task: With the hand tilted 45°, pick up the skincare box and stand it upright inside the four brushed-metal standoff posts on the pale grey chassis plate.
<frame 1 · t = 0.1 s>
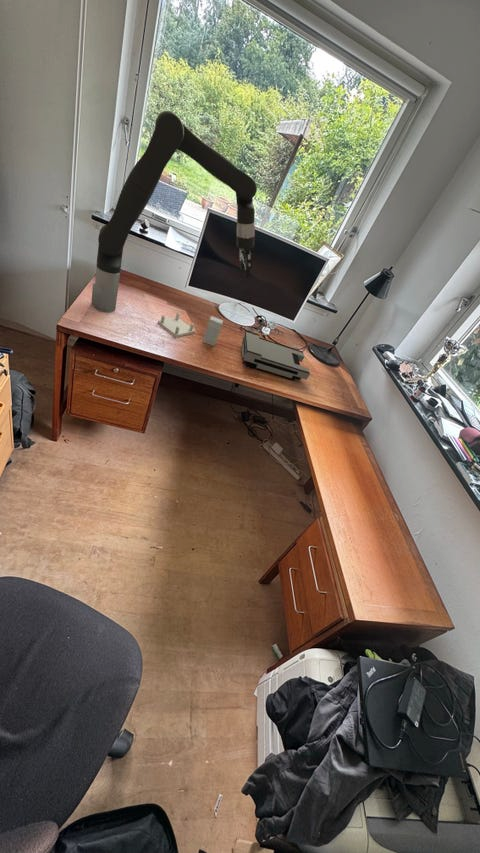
hand: (245, 273, 153), 31 cm above the table, tool tilted 20°, fingers open, 8 cm apart
grey slotted box: (270, 364, 168), on the table
chassis: (176, 328, 160), on the table
skincare box: (209, 342, 162), on the table
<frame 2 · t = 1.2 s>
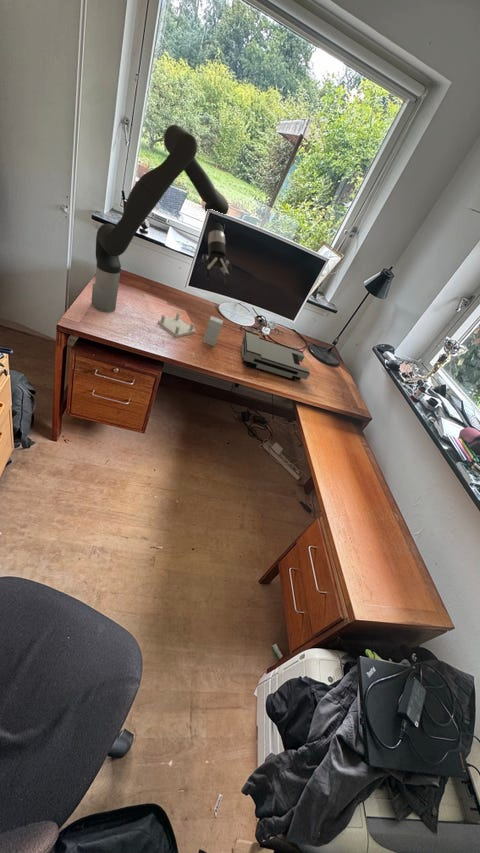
hand: (217, 281, 153), 25 cm above the table, tool tilted 45°, fingers open, 8 cm apart
nothing on the table moved.
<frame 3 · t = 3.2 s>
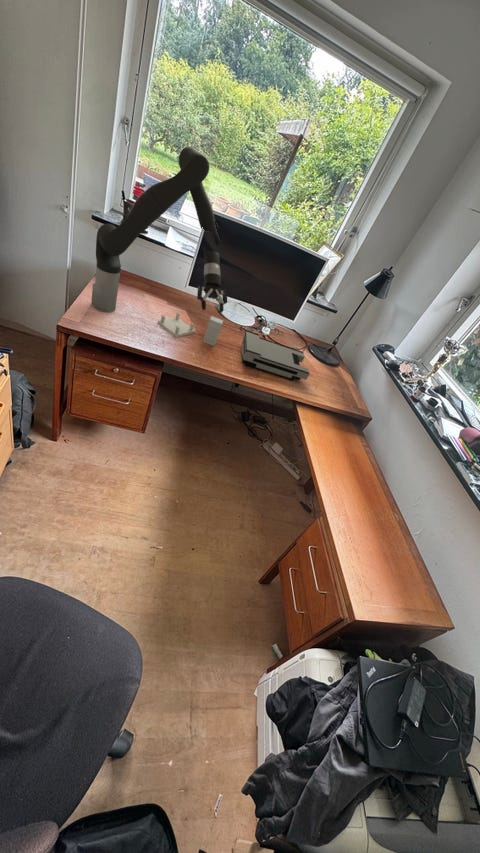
hand: (212, 311, 158), 12 cm above the table, tool tilted 45°, fingers open, 8 cm apart
nothing on the table moved.
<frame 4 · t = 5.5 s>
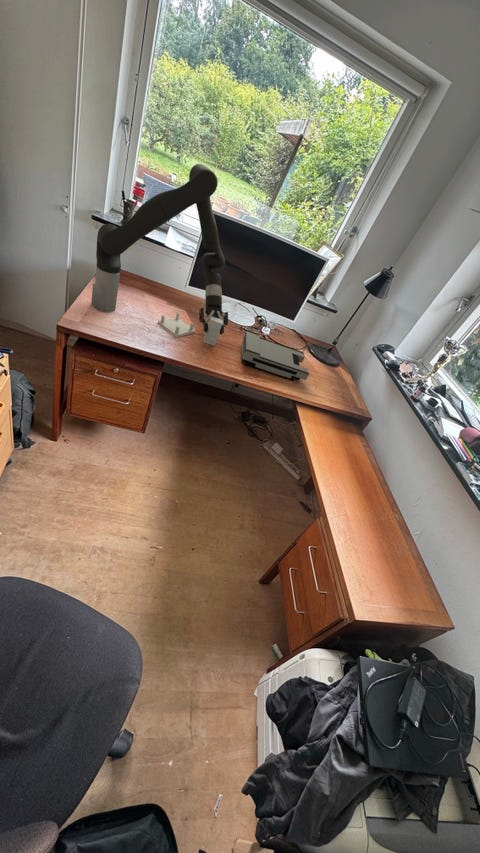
hand: (214, 333, 157), 6 cm above the table, tool tilted 45°, fingers closed on skincare box, 7 cm apart
skincare box: (209, 342, 162), on the table, touching gripper
everything else where it was.
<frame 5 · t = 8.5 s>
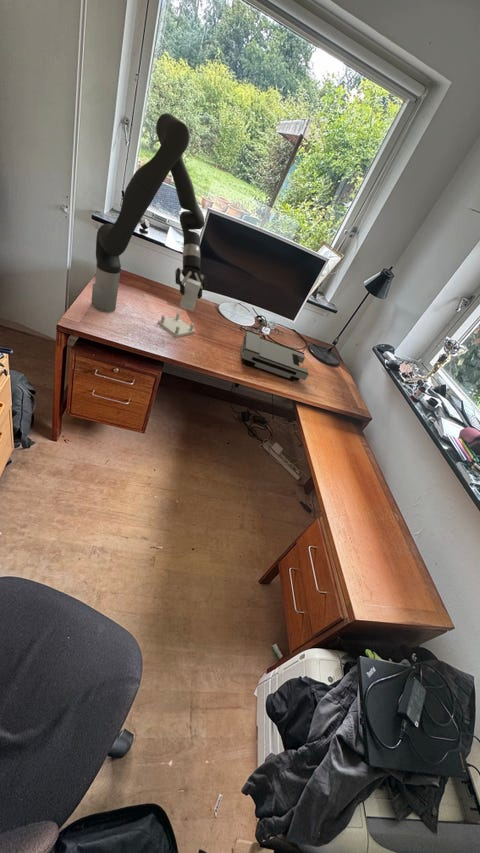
hand: (191, 296, 148), 18 cm above the table, tool tilted 45°, fingers closed on skincare box, 7 cm apart
skincare box: (186, 307, 153), point 12 cm above the table, touching gripper
everything else where it was.
when the fingers open (9 cm above the table, at t = 11.8 s): skincare box drops 1 cm, resting on chassis.
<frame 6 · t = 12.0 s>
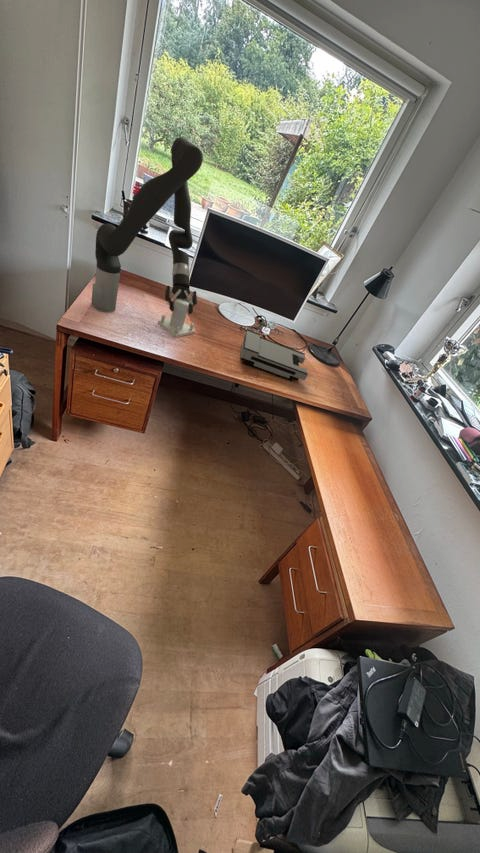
hand: (181, 312, 154), 9 cm above the table, tool tilted 45°, fingers open, 8 cm apart
skincare box: (176, 325, 160), point 1 cm above the table, touching chassis
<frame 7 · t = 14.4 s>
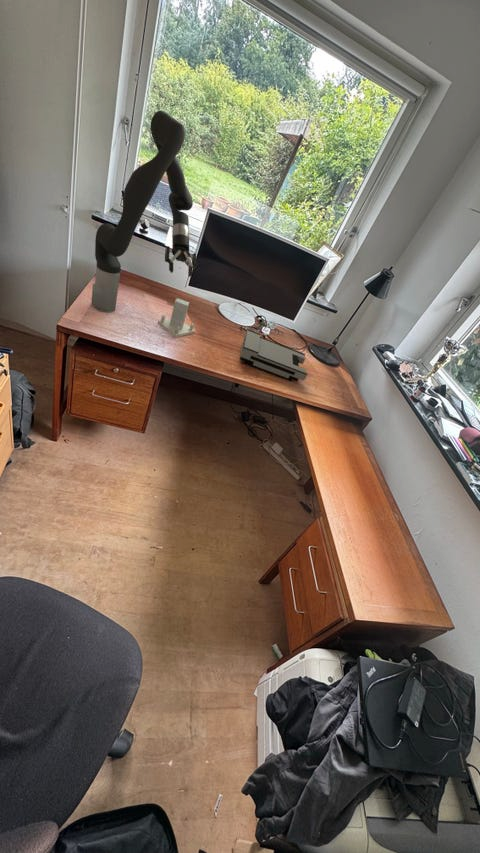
hand: (181, 274, 154), 21 cm above the table, tool tilted 45°, fingers open, 8 cm apart
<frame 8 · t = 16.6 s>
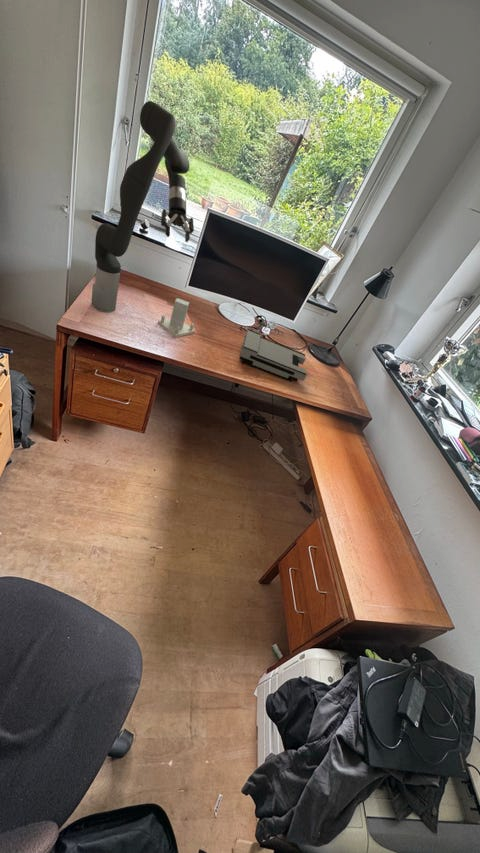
hand: (177, 238, 150), 33 cm above the table, tool tilted 45°, fingers open, 8 cm apart
at the end: skincare box 0.3 cm off-centre on the chassis, point 1.0 cm above the chassis's base; skincare box tilted 0°; the gripper is holding nothing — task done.
